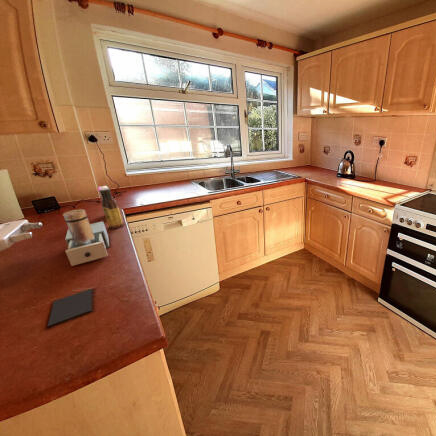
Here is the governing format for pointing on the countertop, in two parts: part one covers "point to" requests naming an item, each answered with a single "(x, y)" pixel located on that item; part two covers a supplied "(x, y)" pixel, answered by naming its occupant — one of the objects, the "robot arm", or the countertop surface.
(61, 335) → the countertop surface
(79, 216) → the metal canister
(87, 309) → the mat
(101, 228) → the cabinet
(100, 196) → the candy bar box
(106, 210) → the sauce bottle
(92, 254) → the drawer
